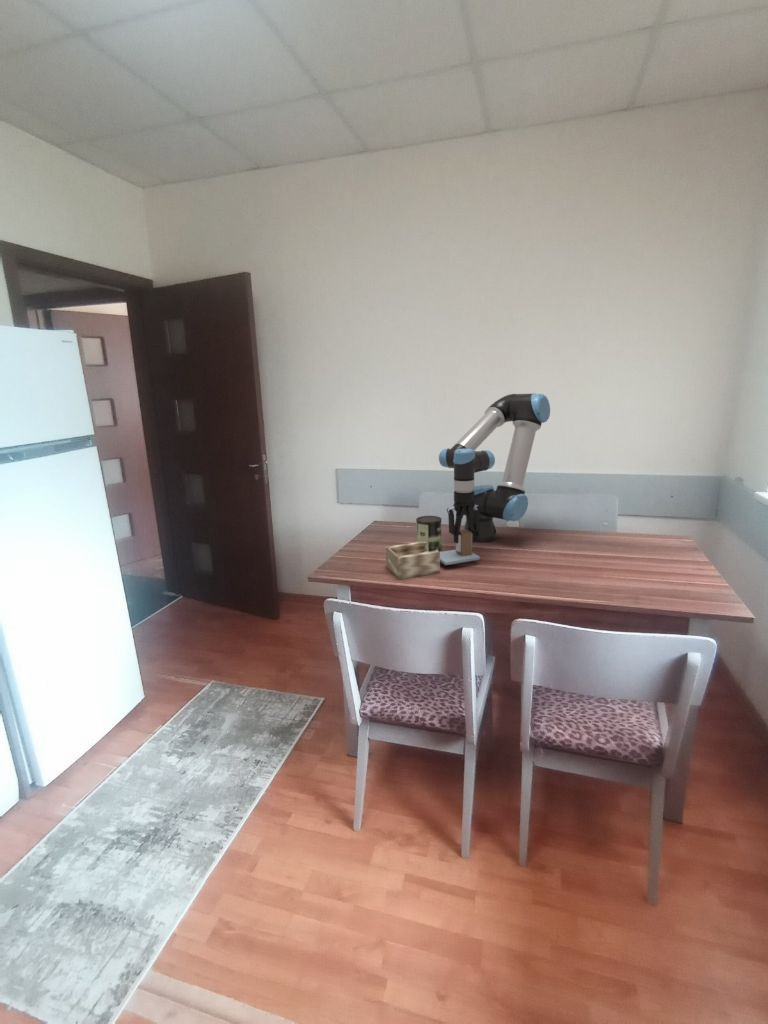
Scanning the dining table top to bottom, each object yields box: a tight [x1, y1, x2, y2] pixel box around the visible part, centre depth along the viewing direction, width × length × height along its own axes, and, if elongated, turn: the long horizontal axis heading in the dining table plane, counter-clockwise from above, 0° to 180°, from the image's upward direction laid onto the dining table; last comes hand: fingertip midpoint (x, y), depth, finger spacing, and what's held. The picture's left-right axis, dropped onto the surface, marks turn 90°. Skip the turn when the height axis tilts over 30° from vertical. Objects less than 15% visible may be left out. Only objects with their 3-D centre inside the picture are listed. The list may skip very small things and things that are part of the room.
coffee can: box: [415, 515, 443, 552], centre depth 198 cm, size 10×10×14 cm
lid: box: [440, 529, 481, 566], centre depth 184 cm, size 14×12×10 cm
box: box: [385, 541, 441, 580], centre depth 179 cm, size 16×14×8 cm
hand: (463, 549), depth 186 cm, fingers open, 4 cm apart
